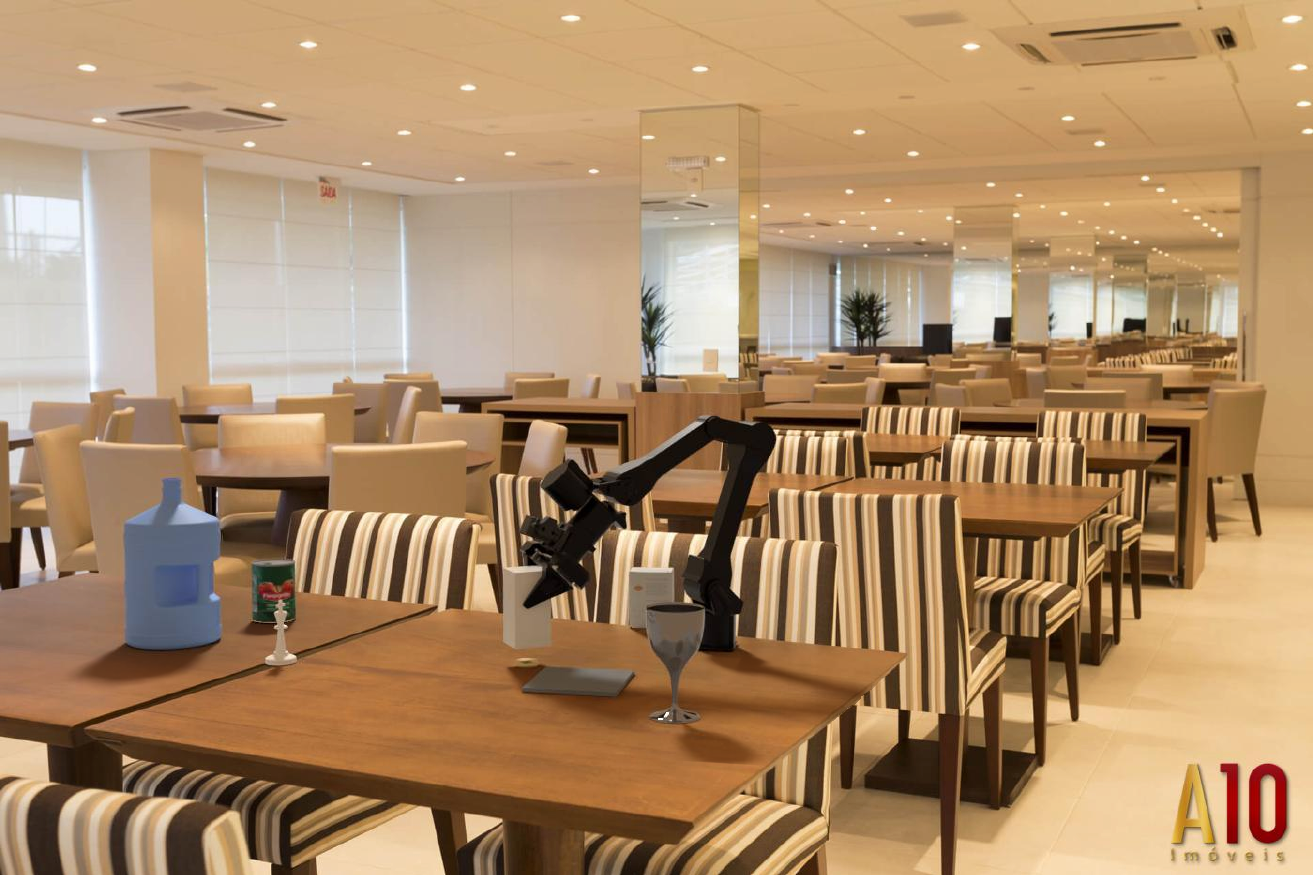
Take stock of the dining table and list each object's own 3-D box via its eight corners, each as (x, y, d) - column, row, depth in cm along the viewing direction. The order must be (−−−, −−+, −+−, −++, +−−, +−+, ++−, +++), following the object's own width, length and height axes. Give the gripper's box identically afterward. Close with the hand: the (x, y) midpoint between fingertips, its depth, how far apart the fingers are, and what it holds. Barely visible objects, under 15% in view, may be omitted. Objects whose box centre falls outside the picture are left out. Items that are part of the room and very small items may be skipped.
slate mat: (634, 674, 201) (634, 670, 201) (615, 696, 187) (616, 692, 187) (546, 670, 203) (546, 666, 203) (522, 691, 190) (522, 687, 190)
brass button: (540, 664, 208) (540, 658, 208) (534, 669, 205) (534, 663, 205) (519, 663, 209) (519, 657, 209) (512, 668, 206) (512, 662, 206)
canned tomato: (277, 614, 248) (277, 557, 247) (304, 619, 243) (304, 560, 242) (242, 620, 241) (242, 562, 241) (269, 625, 237) (269, 566, 236)
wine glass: (643, 709, 180) (643, 602, 179) (700, 708, 181) (701, 601, 180) (647, 725, 172) (648, 613, 172) (707, 724, 173) (708, 612, 172)
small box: (674, 623, 241) (675, 567, 241) (672, 629, 236) (672, 572, 235) (632, 622, 242) (632, 566, 242) (628, 628, 237) (628, 571, 236)
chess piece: (303, 660, 209) (303, 598, 208) (282, 666, 204) (282, 603, 204) (279, 657, 211) (278, 596, 210) (258, 663, 207) (257, 601, 206)
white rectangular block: (538, 638, 211) (538, 565, 210) (551, 646, 205) (551, 570, 205) (503, 641, 208) (502, 567, 208) (514, 649, 203) (514, 573, 202)
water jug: (103, 646, 219) (101, 480, 217) (171, 629, 233) (169, 473, 232) (177, 654, 213) (174, 484, 211) (241, 636, 227) (239, 477, 226)
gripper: (531, 491, 216) (467, 561, 212) (570, 502, 199) (501, 579, 195) (576, 536, 219) (513, 606, 215) (618, 551, 202) (551, 626, 198)
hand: (518, 603), depth 206 cm, fingers closed on white rectangular block, 6 cm apart
